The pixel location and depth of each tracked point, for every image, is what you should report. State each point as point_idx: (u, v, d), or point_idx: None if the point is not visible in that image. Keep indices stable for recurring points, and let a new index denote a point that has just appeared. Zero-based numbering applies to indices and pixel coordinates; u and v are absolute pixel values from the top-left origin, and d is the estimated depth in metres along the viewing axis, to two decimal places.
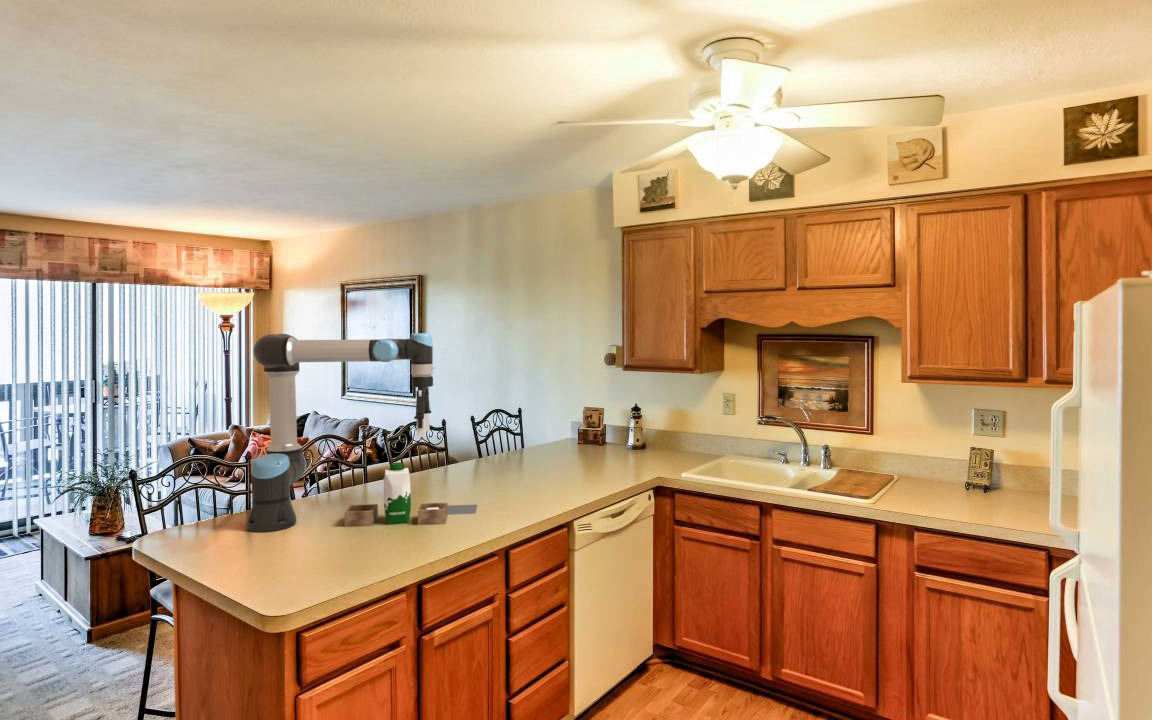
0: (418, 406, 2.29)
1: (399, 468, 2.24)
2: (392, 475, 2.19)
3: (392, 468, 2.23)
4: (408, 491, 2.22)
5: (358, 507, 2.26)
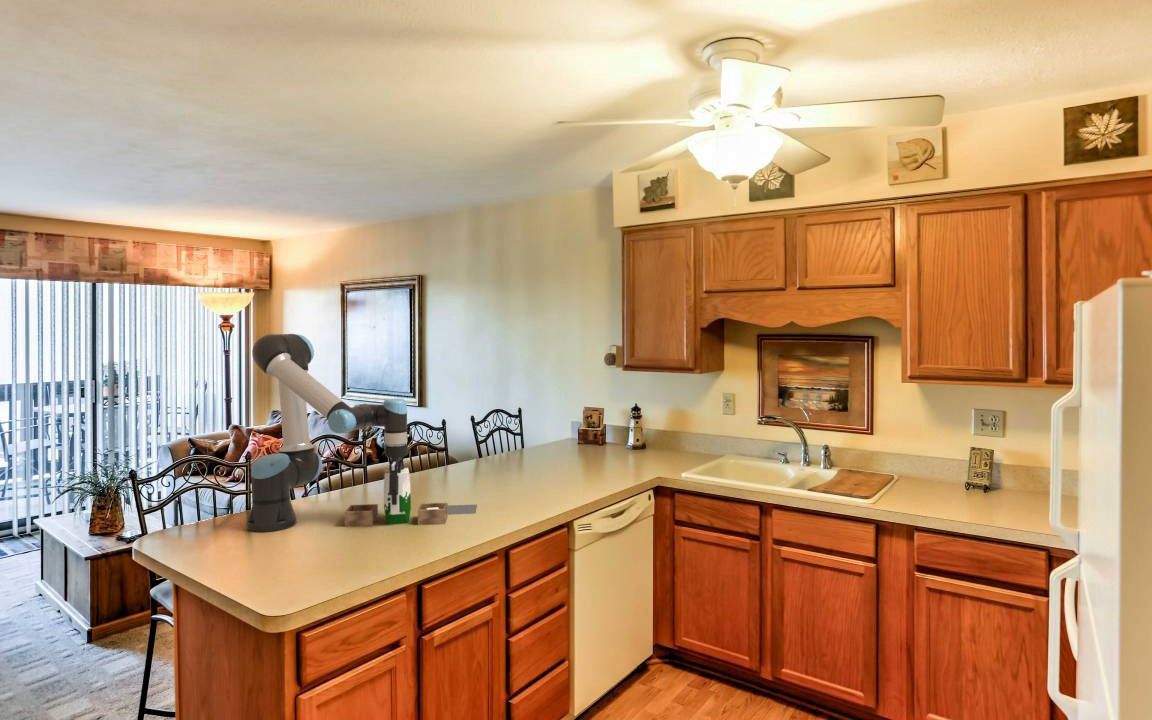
0: (391, 482, 2.16)
1: None
2: None
3: None
4: (408, 491, 2.22)
5: (358, 507, 2.26)
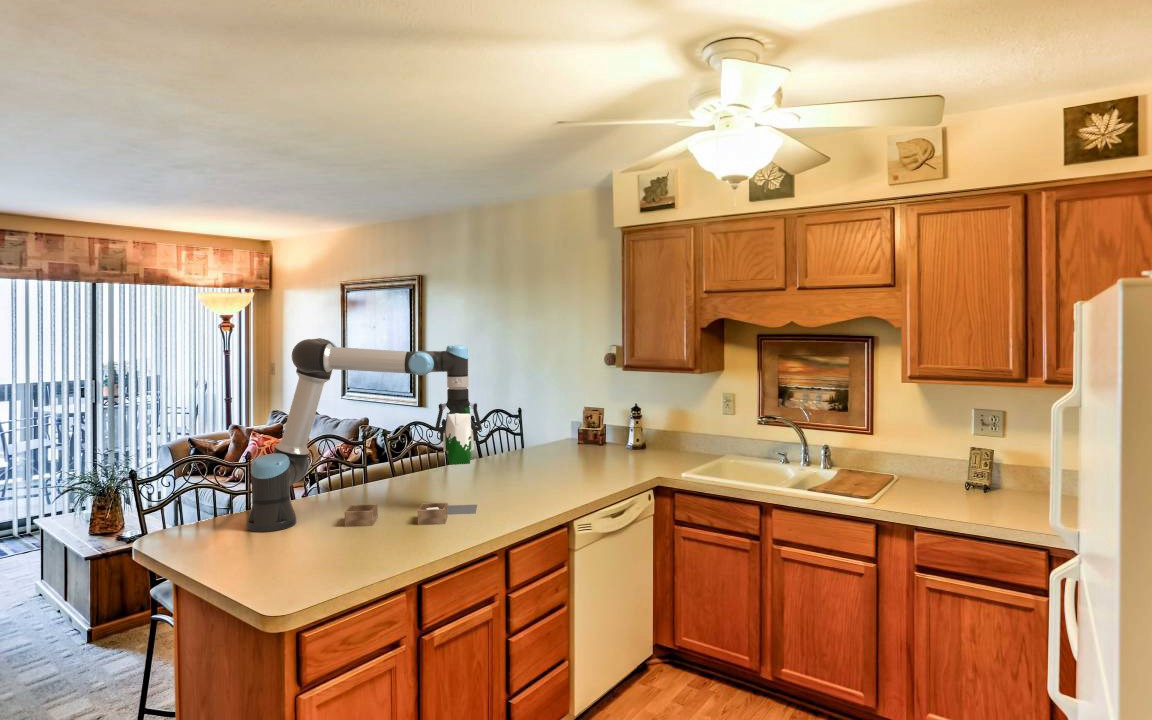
0: None
1: None
2: None
3: None
4: (452, 433, 2.32)
5: (358, 507, 2.26)
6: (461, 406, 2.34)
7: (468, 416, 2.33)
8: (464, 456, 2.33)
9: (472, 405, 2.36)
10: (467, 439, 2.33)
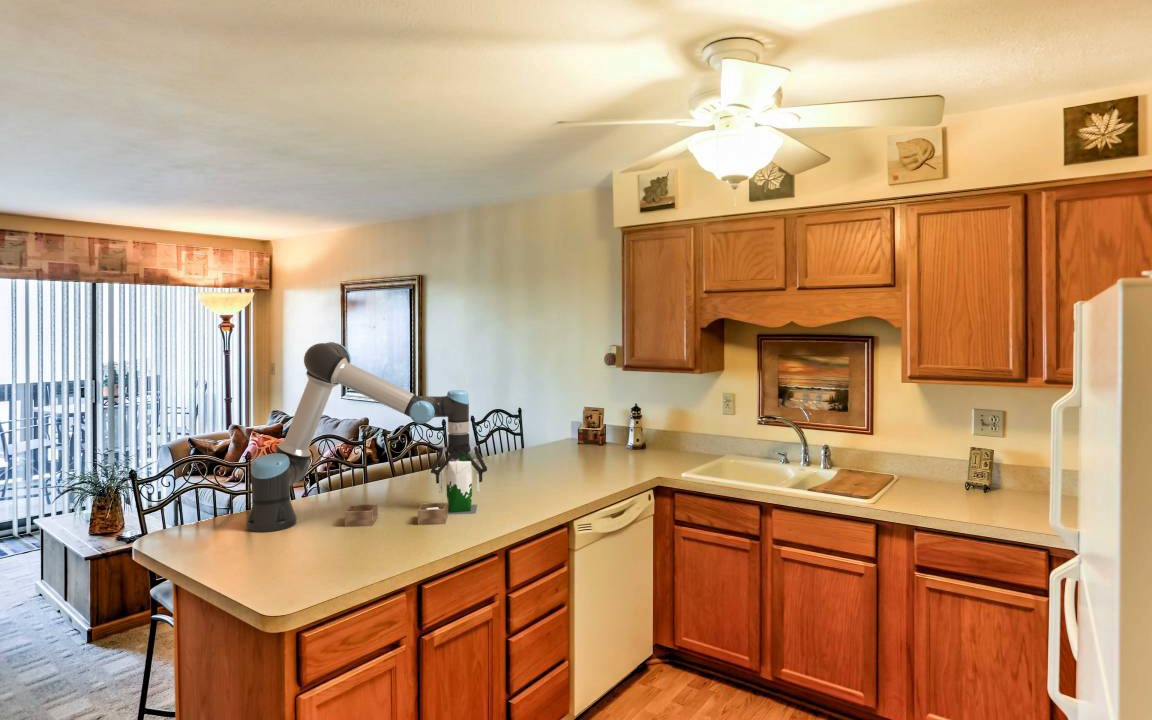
0: None
1: (460, 459, 2.36)
2: None
3: None
4: (453, 481, 2.33)
5: (358, 507, 2.26)
6: (462, 451, 2.35)
7: (469, 464, 2.34)
8: (465, 504, 2.34)
9: (473, 449, 2.37)
10: (467, 486, 2.34)
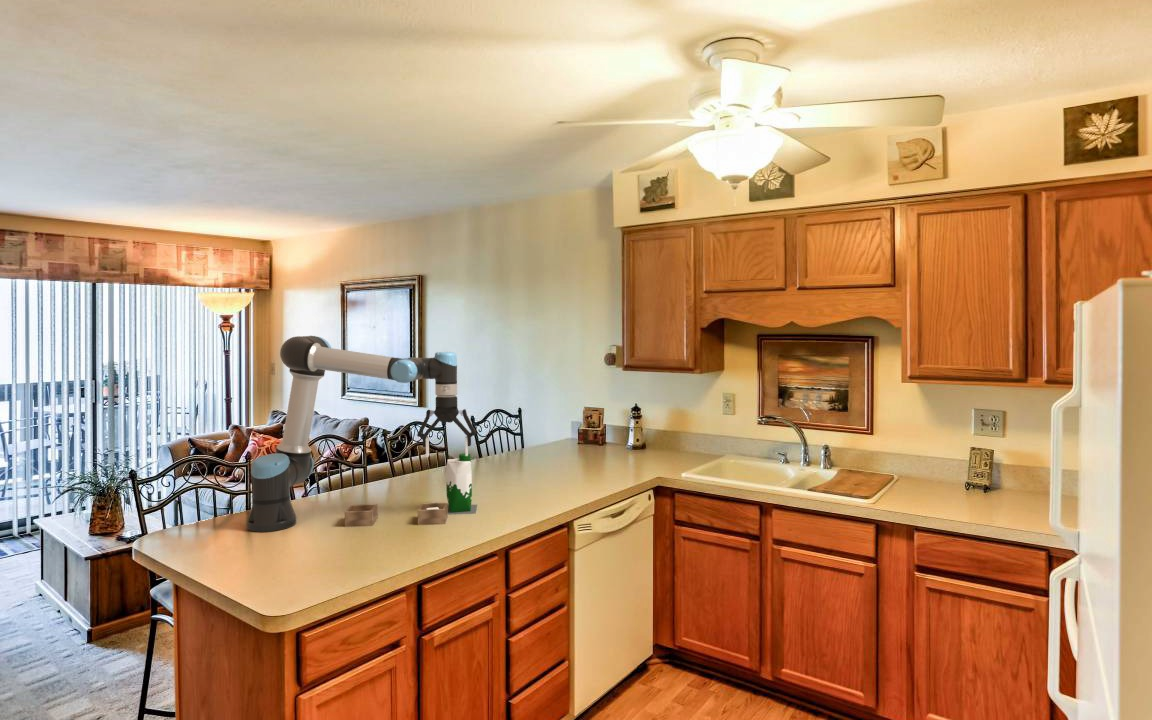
0: None
1: (460, 459, 2.36)
2: (447, 462, 2.37)
3: None
4: (452, 481, 2.33)
5: (358, 507, 2.26)
6: (450, 414, 2.28)
7: (469, 464, 2.34)
8: (465, 504, 2.34)
9: (461, 412, 2.30)
10: (467, 486, 2.34)
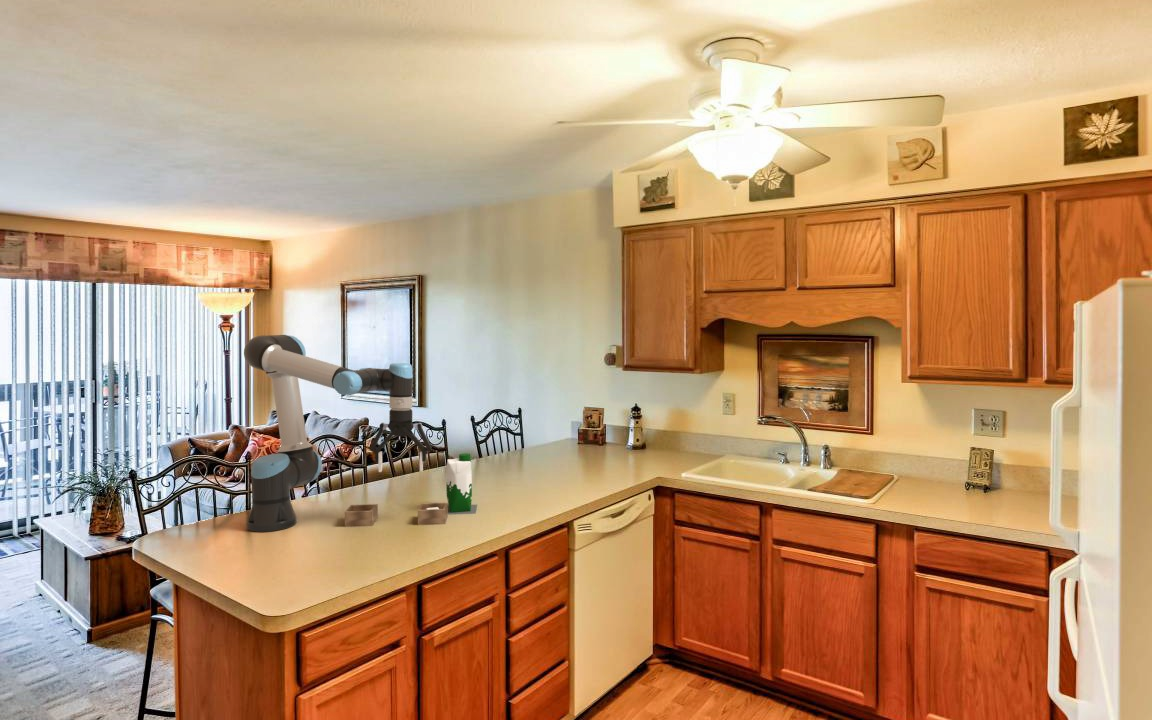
0: None
1: (460, 459, 2.36)
2: (447, 462, 2.37)
3: None
4: (452, 481, 2.33)
5: (358, 507, 2.26)
6: (404, 428, 2.20)
7: (469, 464, 2.34)
8: (465, 504, 2.34)
9: (416, 426, 2.22)
10: (467, 486, 2.34)
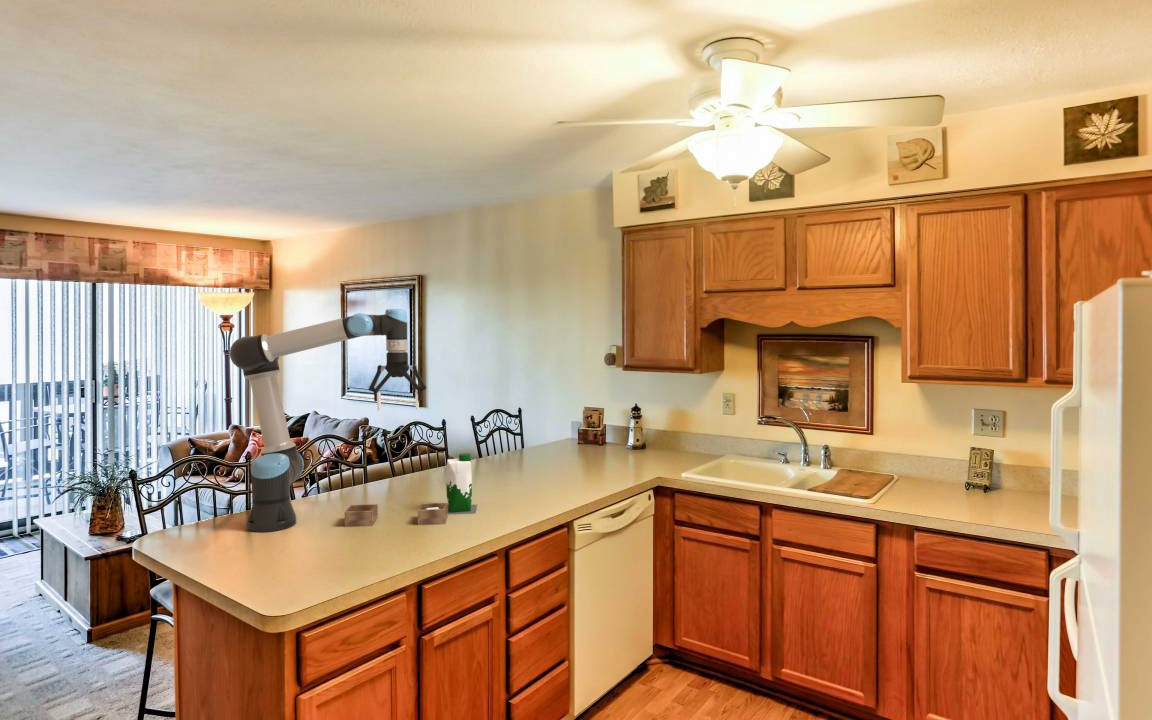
0: None
1: (460, 459, 2.36)
2: (447, 462, 2.37)
3: None
4: (452, 481, 2.33)
5: (358, 507, 2.26)
6: (400, 369, 2.36)
7: (469, 464, 2.34)
8: (465, 504, 2.34)
9: (411, 367, 2.38)
10: (467, 486, 2.34)
